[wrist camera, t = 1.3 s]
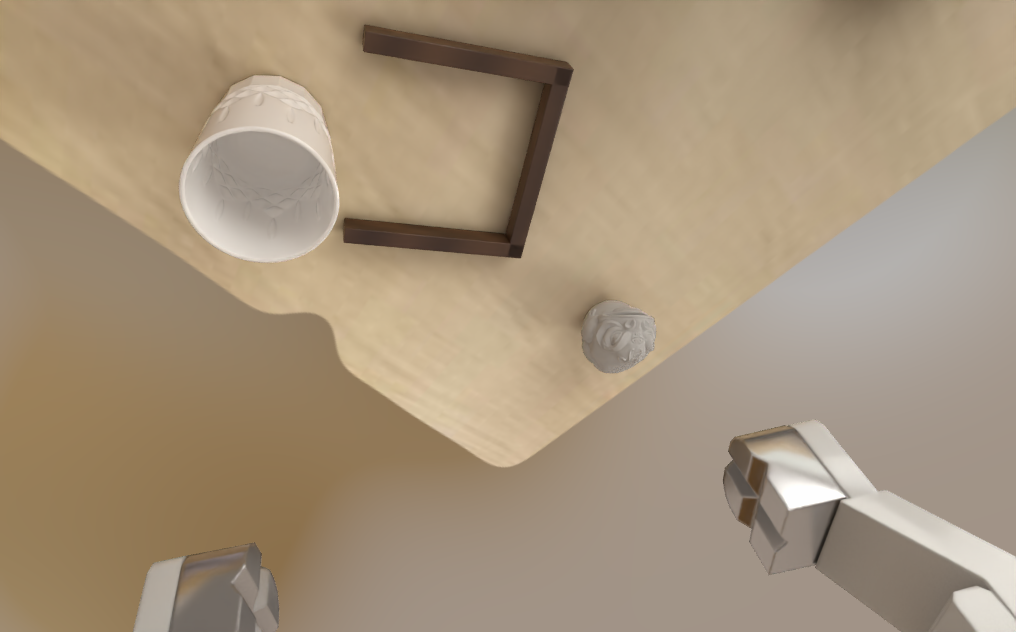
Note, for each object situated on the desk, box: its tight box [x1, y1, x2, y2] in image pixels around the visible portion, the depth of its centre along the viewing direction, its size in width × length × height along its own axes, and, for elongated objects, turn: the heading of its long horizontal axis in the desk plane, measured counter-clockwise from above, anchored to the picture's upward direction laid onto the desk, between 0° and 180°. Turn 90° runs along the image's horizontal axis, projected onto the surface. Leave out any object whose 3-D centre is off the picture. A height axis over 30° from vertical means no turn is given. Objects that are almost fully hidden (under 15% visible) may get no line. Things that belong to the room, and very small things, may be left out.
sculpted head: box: [581, 300, 656, 373], centre depth 55 cm, size 6×7×7 cm
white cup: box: [179, 75, 339, 263], centre depth 39 cm, size 8×8×10 cm
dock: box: [343, 25, 573, 258], centre depth 46 cm, size 13×14×2 cm
